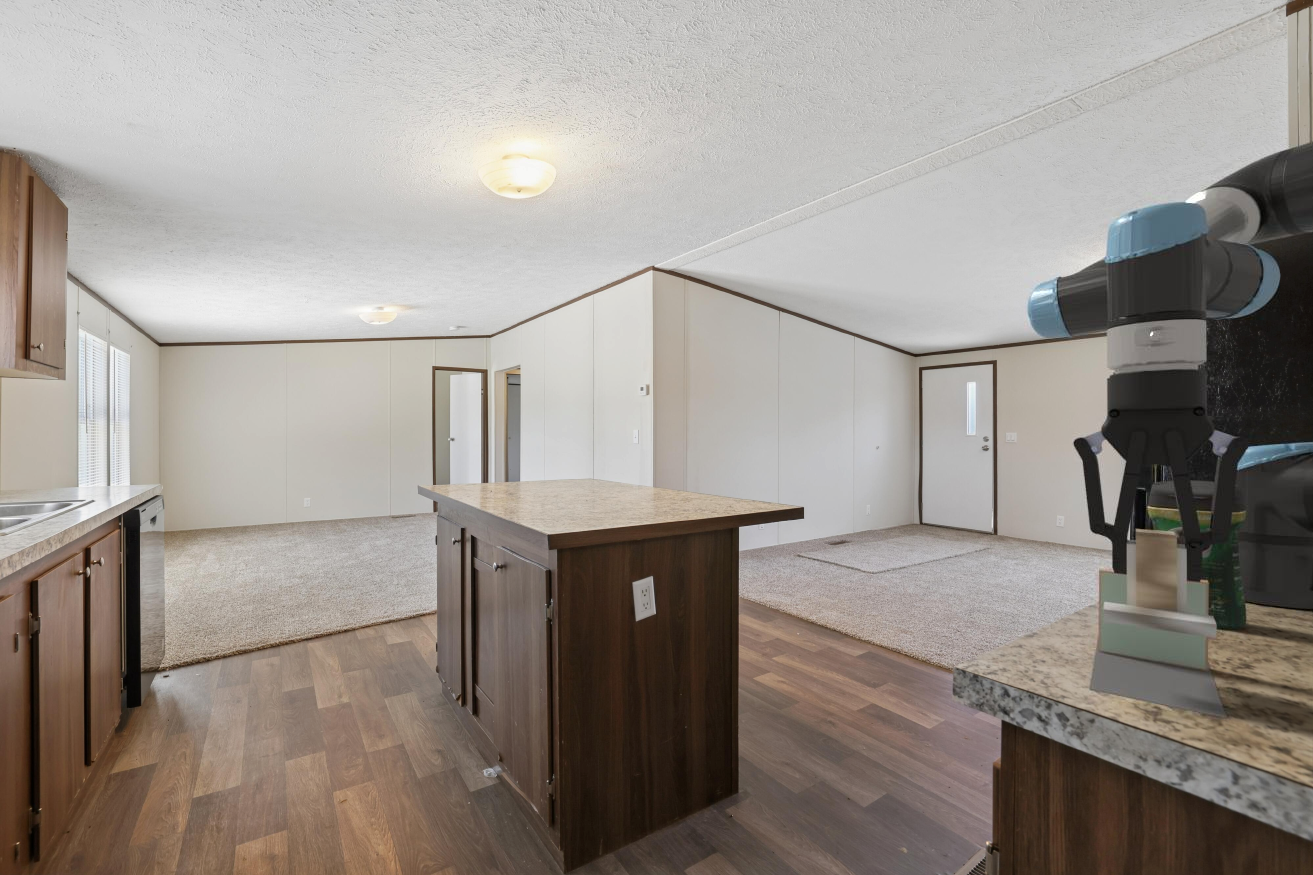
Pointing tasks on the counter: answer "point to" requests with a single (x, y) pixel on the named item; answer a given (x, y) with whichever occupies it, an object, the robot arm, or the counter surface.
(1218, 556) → the coffee jar
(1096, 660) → the mat
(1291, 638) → the counter surface
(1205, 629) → the upright block with backplate
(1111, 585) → the tile
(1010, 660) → the counter surface
